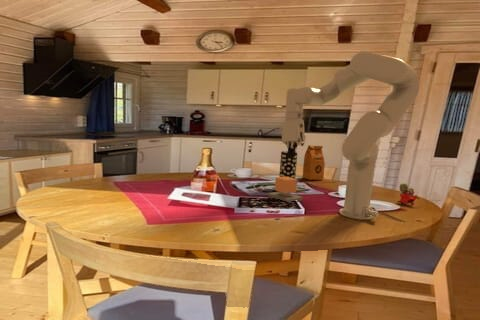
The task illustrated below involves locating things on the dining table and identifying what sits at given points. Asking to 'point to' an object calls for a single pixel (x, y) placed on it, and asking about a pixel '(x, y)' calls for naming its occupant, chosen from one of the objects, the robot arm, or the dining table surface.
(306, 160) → the coffee package
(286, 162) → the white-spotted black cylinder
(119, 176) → the dining table surface
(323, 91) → the robot arm
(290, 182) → the orange cube
